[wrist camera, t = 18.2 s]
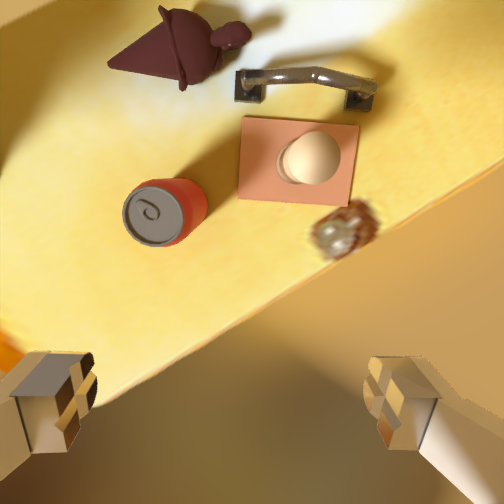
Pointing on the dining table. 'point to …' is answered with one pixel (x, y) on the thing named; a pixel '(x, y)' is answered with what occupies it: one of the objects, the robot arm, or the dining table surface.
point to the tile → (265, 154)
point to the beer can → (164, 211)
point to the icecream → (181, 48)
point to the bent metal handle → (355, 86)
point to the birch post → (309, 159)
